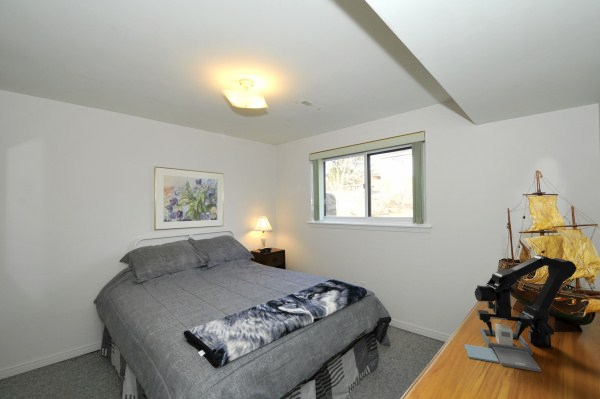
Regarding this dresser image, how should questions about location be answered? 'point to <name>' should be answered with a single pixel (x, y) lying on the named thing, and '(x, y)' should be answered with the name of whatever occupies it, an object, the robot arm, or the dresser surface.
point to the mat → (481, 353)
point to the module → (504, 334)
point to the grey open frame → (512, 353)
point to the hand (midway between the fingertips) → (504, 337)
